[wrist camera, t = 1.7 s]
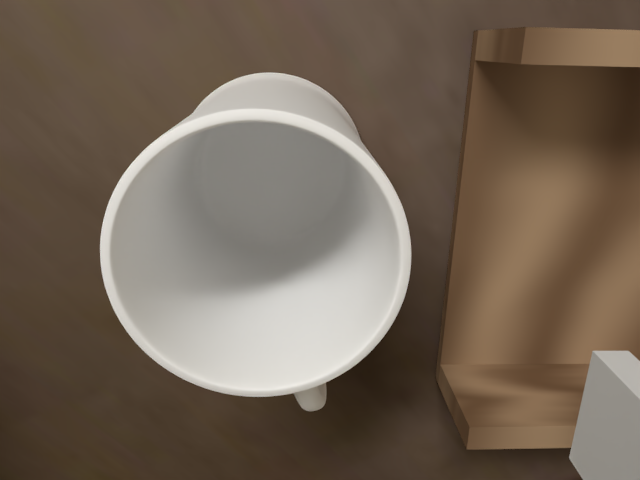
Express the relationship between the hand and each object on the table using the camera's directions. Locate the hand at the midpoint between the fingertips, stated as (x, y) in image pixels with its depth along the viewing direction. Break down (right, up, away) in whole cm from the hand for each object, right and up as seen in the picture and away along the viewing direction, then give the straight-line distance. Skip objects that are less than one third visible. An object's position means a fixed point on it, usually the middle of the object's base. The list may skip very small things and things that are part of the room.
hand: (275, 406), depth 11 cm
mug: (-1, +5, +15) cm, 16 cm away
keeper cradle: (+14, +4, +16) cm, 21 cm away
